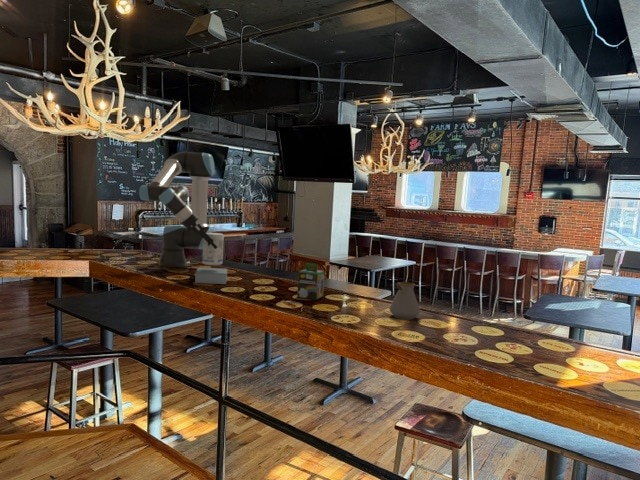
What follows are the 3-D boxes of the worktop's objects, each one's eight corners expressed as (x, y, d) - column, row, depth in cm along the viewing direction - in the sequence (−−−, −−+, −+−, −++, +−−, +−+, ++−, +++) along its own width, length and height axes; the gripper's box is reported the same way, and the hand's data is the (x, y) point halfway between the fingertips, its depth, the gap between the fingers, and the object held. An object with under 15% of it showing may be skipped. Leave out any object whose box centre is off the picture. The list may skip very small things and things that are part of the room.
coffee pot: (393, 311, 173) (397, 274, 172) (422, 316, 168) (426, 278, 167) (375, 322, 154) (378, 280, 153) (407, 328, 149) (411, 285, 148)
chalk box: (323, 296, 193) (325, 263, 192) (316, 300, 184) (319, 265, 183) (303, 293, 196) (306, 261, 195) (296, 297, 187) (298, 263, 186)
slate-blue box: (197, 277, 218) (198, 267, 218) (226, 278, 221) (227, 268, 220) (194, 282, 203) (195, 272, 203) (226, 284, 206) (226, 273, 206)
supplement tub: (217, 262, 218) (218, 232, 217) (225, 265, 211) (227, 234, 210) (198, 262, 212) (200, 232, 211) (207, 265, 205) (208, 234, 204)
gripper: (179, 221, 215) (210, 254, 222) (182, 223, 194) (216, 260, 201) (191, 211, 216) (222, 244, 223) (195, 212, 196) (228, 249, 202)
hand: (219, 251), depth 212 cm, fingers closed on supplement tub, 9 cm apart
